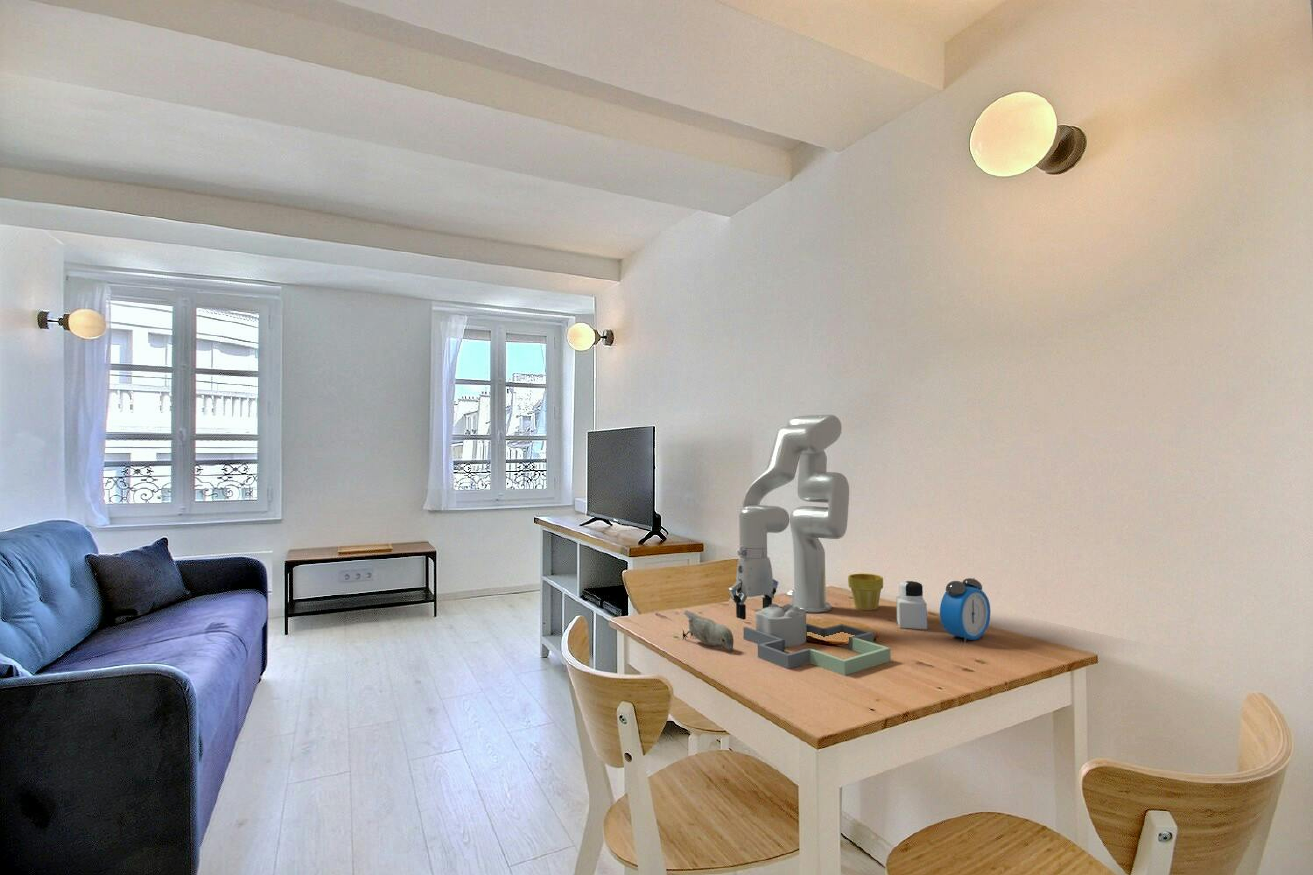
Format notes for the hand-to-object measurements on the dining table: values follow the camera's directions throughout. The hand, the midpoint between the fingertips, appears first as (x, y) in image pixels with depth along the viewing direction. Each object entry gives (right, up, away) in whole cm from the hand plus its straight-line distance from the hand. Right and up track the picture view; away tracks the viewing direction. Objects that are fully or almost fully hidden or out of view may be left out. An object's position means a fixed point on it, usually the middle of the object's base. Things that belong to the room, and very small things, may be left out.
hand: (754, 615), depth 172 cm
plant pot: (+38, -4, +22) cm, 44 cm away
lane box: (+12, -3, -18) cm, 22 cm away
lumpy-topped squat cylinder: (+6, -4, -9) cm, 12 cm away
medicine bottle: (+44, -4, +2) cm, 44 cm away
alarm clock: (+53, -3, -10) cm, 54 cm away
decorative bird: (-14, -4, -13) cm, 19 cm away
